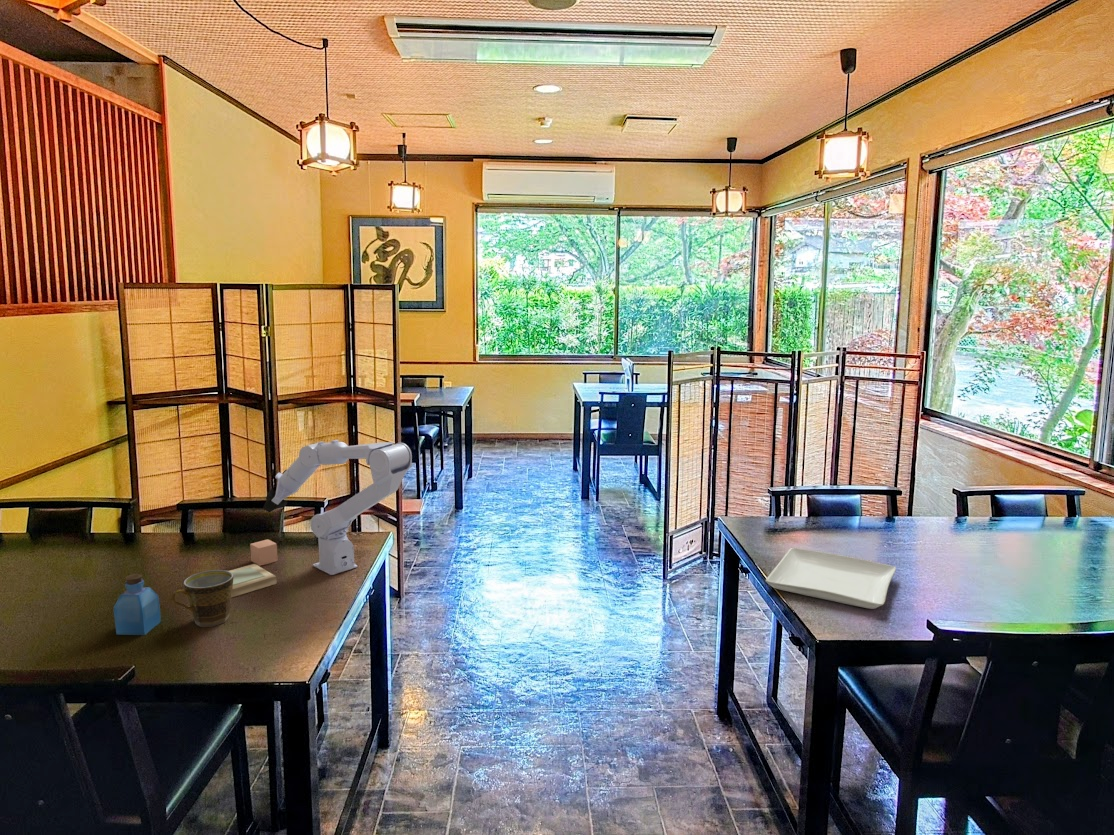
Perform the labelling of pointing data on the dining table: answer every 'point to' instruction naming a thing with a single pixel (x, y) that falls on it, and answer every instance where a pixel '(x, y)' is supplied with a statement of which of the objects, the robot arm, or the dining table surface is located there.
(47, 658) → the dining table surface
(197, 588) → the ceramic cup
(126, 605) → the perfume bottle
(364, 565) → the dining table surface
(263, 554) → the terracotta block
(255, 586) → the display base
